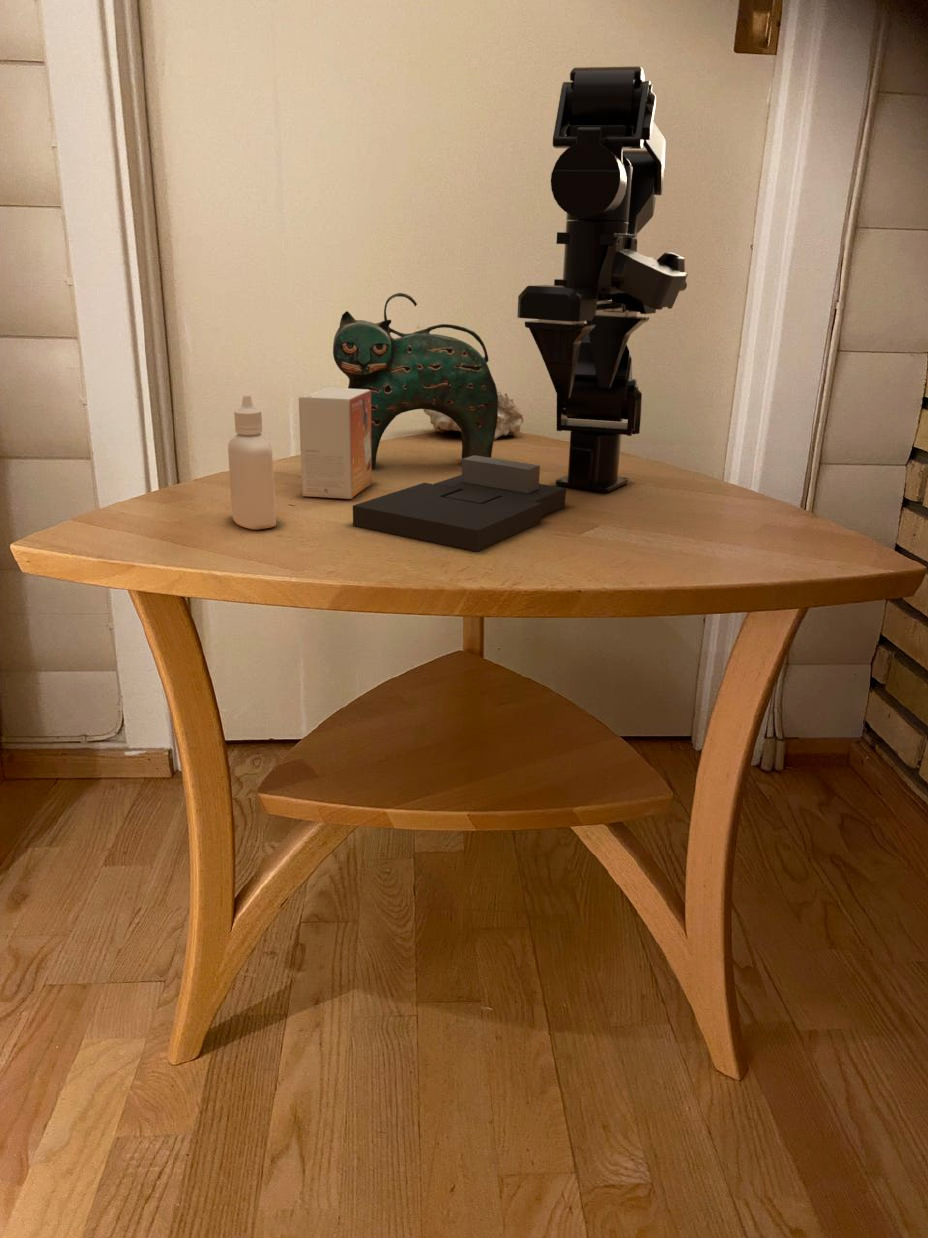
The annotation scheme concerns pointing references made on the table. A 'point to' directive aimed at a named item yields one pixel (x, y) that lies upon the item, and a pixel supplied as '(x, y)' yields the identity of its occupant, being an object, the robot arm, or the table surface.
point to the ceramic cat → (419, 377)
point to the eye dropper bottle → (251, 471)
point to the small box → (335, 442)
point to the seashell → (506, 421)
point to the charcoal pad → (446, 517)
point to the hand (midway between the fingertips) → (585, 393)
